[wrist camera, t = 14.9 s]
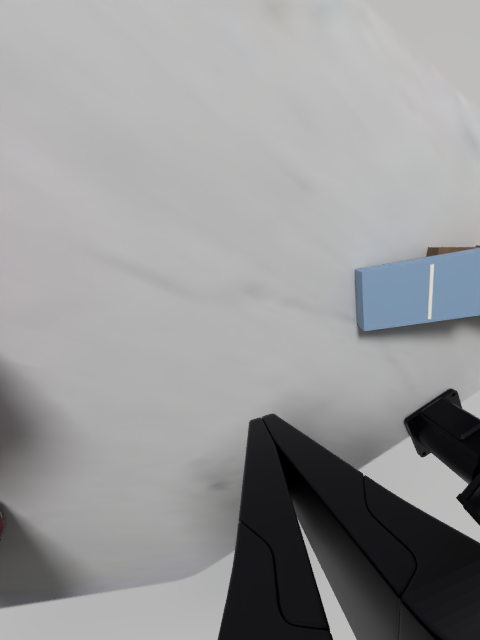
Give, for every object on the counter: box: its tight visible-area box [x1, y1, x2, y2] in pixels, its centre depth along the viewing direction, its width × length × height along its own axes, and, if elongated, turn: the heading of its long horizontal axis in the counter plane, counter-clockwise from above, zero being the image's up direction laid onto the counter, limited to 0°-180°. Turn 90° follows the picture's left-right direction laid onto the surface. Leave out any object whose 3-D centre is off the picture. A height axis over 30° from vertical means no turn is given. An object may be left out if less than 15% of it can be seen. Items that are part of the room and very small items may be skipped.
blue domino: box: [355, 248, 480, 331], centre depth 20 cm, size 2×5×10 cm
